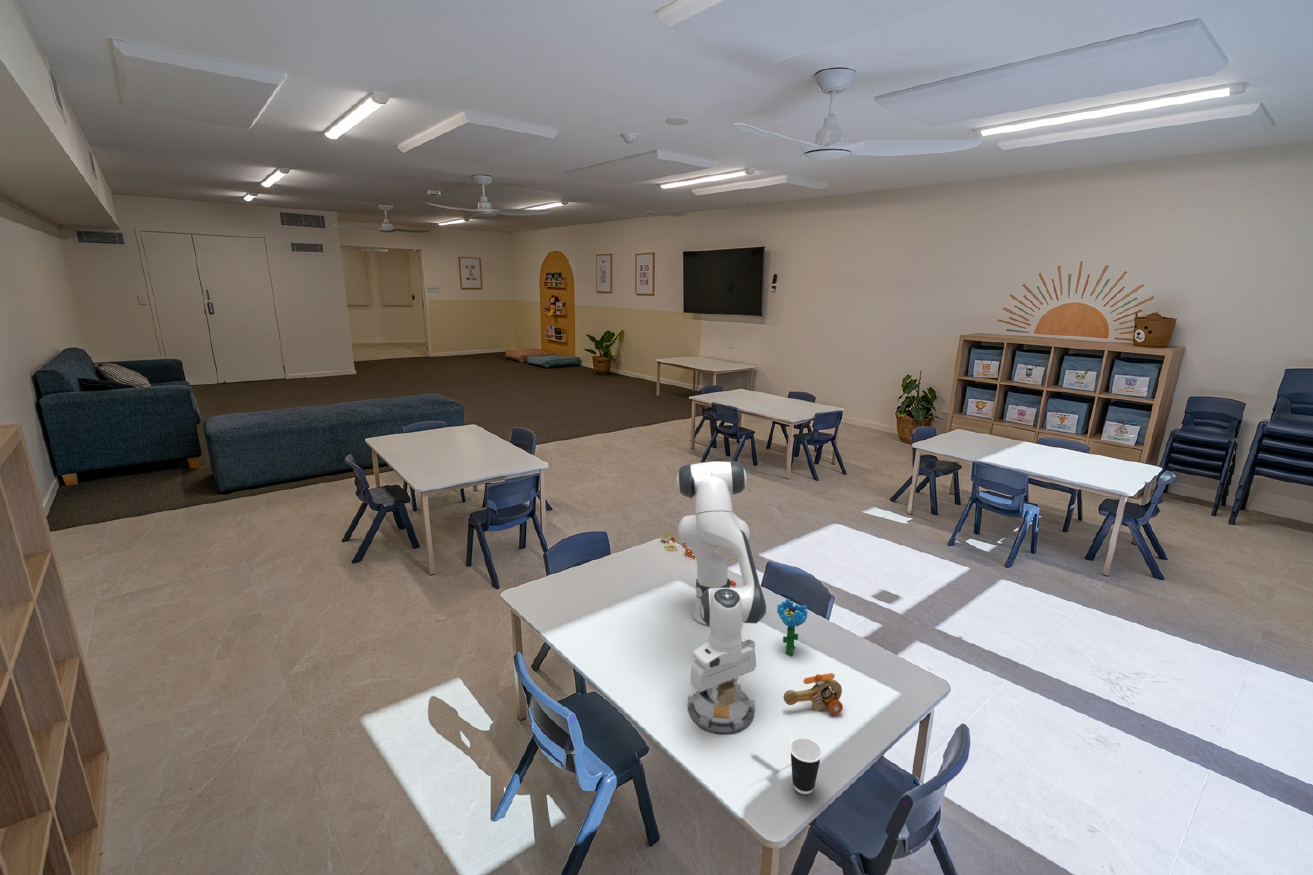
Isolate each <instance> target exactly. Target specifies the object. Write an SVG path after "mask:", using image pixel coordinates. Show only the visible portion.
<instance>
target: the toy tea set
mask: <svg viewBox="0 0 1313 875" xmlns="http://www.w3.org/2000/svg"><path fill="white" fill-rule="evenodd" d="M660 539H661V541H663V542H664V543H665V542H667V543H669V542H668V541H672V542H674V543H673V544H675V543H676V540H677V539H676V537H674V536H671V535H669V534H668V533H664V535H663V536H661V537H660ZM665 540H667V541H665ZM667 543H666V544H667ZM673 544H668V545H664V546H663V548H664V549H665V550H666V549H667V550H669V551H674V550H677V551H678V547H677V546H676V545H673ZM669 547H670V548H669ZM674 547H675V549H674ZM681 547H682V548H683V549H685V556H686V555H687V556H688V557H690V558H693V559H692V560H696V559H695V555H692V554H694V553H693V552H692V550H691V549H690V547H689V546H688V545H687V544H686V543H684V542H683V541H682V542H681ZM668 548H669V549H668ZM676 548H677V549H676ZM667 550H666V551H667ZM669 551H668V552H669ZM688 551H689V552H688Z"/></svg>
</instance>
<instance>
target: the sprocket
mask: <svg viewBox="0 0 1313 875" xmlns="http://www.w3.org/2000/svg"><path fill="white" fill-rule="evenodd" d="M735 686H736V692H735V703H733V704H730V705H728V706H726V707H725V706H724V705H723V704H722V703H720V702H719V701H718V700H717V699H716V698H715V697H714V696H713V695H712V688H709V689H707V690H704V691H702V692H698V691H697V690H696V692H694V693H693V694H694V696H693V695H688V696H687V708H688V707H691V708H694V711H695V713H696V714H697V716H698V717H699V718H700V722H699V723H700V724H702V725H704V726H706V727H709V726H710V725H711V724H712V725H715V726H732V727H733V729H734V730H735V729H738V728H741V727H743V720H744V719H745V718H746V717H747V715H748V713H749V712H754V713H755V712H756V702H755V699H749V700H748V698H749V697H748V695H747V694H746V693H745V692H744V691H743V690H742V685H741V684H739V683H738V682H737V683H736V685H735Z"/></svg>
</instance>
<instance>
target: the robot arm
mask: <svg viewBox="0 0 1313 875" xmlns="http://www.w3.org/2000/svg"><path fill="white" fill-rule="evenodd" d="M675 479H676V486H677V488H678V491H679V493H680V494H681V495H682V496H684V497H686V498H689V499H693V497H695V504H694V505H695V506H694V507H695V510H694V512H695V514H692V515H691V514H690V515H685V516H684V517H682V519H680V521H679V524H678V527H677V533H678V536H679V538H680V540H681V541H682V542H684V543H686V544H687V545H688V546H689V547H690V549H691V550H692V552H693V553H694V555H695V558H696V559H695V561H696V571H697V572H696V573H697V574H696V577H697V578H696V580H695V594H696V596H695V600H694V601H695V602H694V606H693V609H692V613H691V616H692V618H693V620H695V621H696V622H698V623H700V624H702V625H707V626H708V627H709V628H710V633H709V638H708V639H707V640H706V641H705V642H704V643H703V644H701V645H700V646H699V647H697V648H696V649H695V650H694V651H693V653H692V657H693V659H694V660H693V662H692V664H691V670H690V671H691V672H690V684H691V686H692V687H693V688H694V689H695V690H696V691H698V692H702V691H704V690H707V689H709V688H712V690H713V696H714V697H715V698H717V697H719V696H720V694H721V691H720V690H718V688H717V687H718V685H719V684H722V683H724V682H727V681H730V682H731V683H732V684H733V685H736V683H737V684H738V681H739V678H740V677H741V676H744V675H746V674H749V673H751V672H754V671H755V669H756V667H757V657H756V649H755V648H756V643H755V641H754V640H753V639H752V640H751V639H746V640H744V641H743V637H742V630H743V625H744V624H754V625H755V624H757V623H759V622H760V621H761V620H762V619H763V618H764V617H765V615H766V613H767V602H766V599H765V596H764V592H763V590H762V587H761V584H760V579H759V576H758V571H757V569H756V564H755V561H754V557H753V553H752V549H751V547H750V543H749V540H750V537H751V532H750V527H749V525H748V524H747V523H746V522H745V520H743V519H741V518H740V517H739V516H737V515H736V513H734V512H733V504H732V498H731V495H739V494H741V493H743V491H744V490H745V488H746V484H747V479H748V477H747V472H746V469H745V468H744V465H743V464H742V463H741V462H740V461H735V460H730V461H720V460H719V461H707V462H706V461H705V462H699V463H698V462H697V463H693V464H691V463H688V464H684V465H681V466H680V467H679V469H678V472H677V475H676V478H675ZM714 548H720V549H724V550H726V551H728V552H731V554H732V555H734V556H735V558H736V559H737V562H738V565H739V569H740V570H739V571H740V574H741V578H742V583H743V586H741V587H739V586H738V587H736V586H737V582H736V581H734V580H731V579H730V578H729V577H728V572H729V571H728V570H729V569H728V568H729V564H728V560H727V559H726V558H725V556H724V555H723V554H721V553H719V552H718V551H717V550H715V549H714ZM743 623H744V624H743Z"/></svg>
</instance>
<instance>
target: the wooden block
mask: <svg viewBox="0 0 1313 875" xmlns="http://www.w3.org/2000/svg"><path fill="white" fill-rule="evenodd" d="M717 688H718V690H720V691H721V694H720V696H719V697H717V698H716V699H717V700H718V701H719V702H720V703H722V704H723V705H724V706H725V707H726V706H728V705H730V704H733V703H735V692H736V686H735V685H733V684H732V683H731V682H730V680H729V681H727V682H724V683H722V684H719V685H718V687H717ZM712 695H713V690H712Z"/></svg>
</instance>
